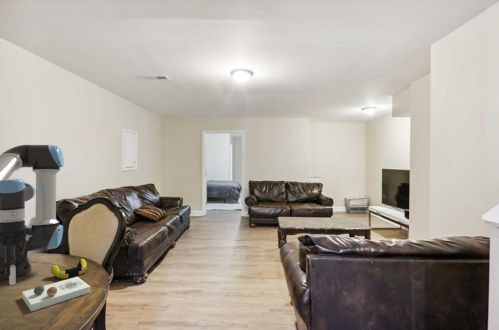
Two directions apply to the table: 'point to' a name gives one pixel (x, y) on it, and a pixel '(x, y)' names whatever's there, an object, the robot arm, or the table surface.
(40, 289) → the ball
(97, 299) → the table surface
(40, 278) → the table surface
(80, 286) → the plate
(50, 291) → the wood ball
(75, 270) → the gaming controller
